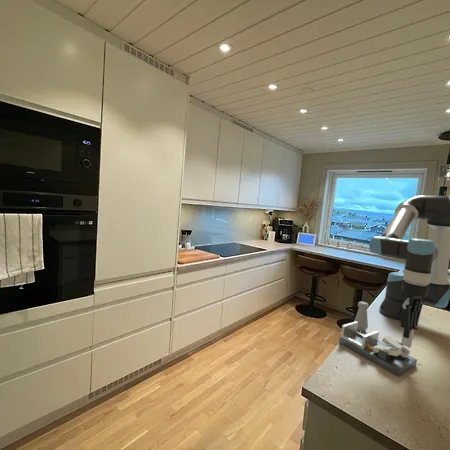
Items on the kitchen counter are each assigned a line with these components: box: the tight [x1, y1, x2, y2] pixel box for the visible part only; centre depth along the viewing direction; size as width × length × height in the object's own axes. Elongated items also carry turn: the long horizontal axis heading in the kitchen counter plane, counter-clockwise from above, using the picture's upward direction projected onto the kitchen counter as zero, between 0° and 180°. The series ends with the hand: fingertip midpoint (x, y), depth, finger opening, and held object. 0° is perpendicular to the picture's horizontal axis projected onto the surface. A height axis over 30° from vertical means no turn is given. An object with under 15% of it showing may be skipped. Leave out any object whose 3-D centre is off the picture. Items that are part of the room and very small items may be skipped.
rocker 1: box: [373, 345, 402, 356], centre depth 91 cm, size 4×8×2 cm, turn 31°
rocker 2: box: [381, 335, 411, 357], centre depth 94 cm, size 4×8×2 cm, turn 31°
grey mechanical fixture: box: [338, 321, 418, 377], centre depth 97 cm, size 13×22×8 cm, turn 31°
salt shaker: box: [353, 301, 370, 333], centre depth 116 cm, size 6×6×13 cm
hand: (406, 345), depth 92 cm, fingers closed
